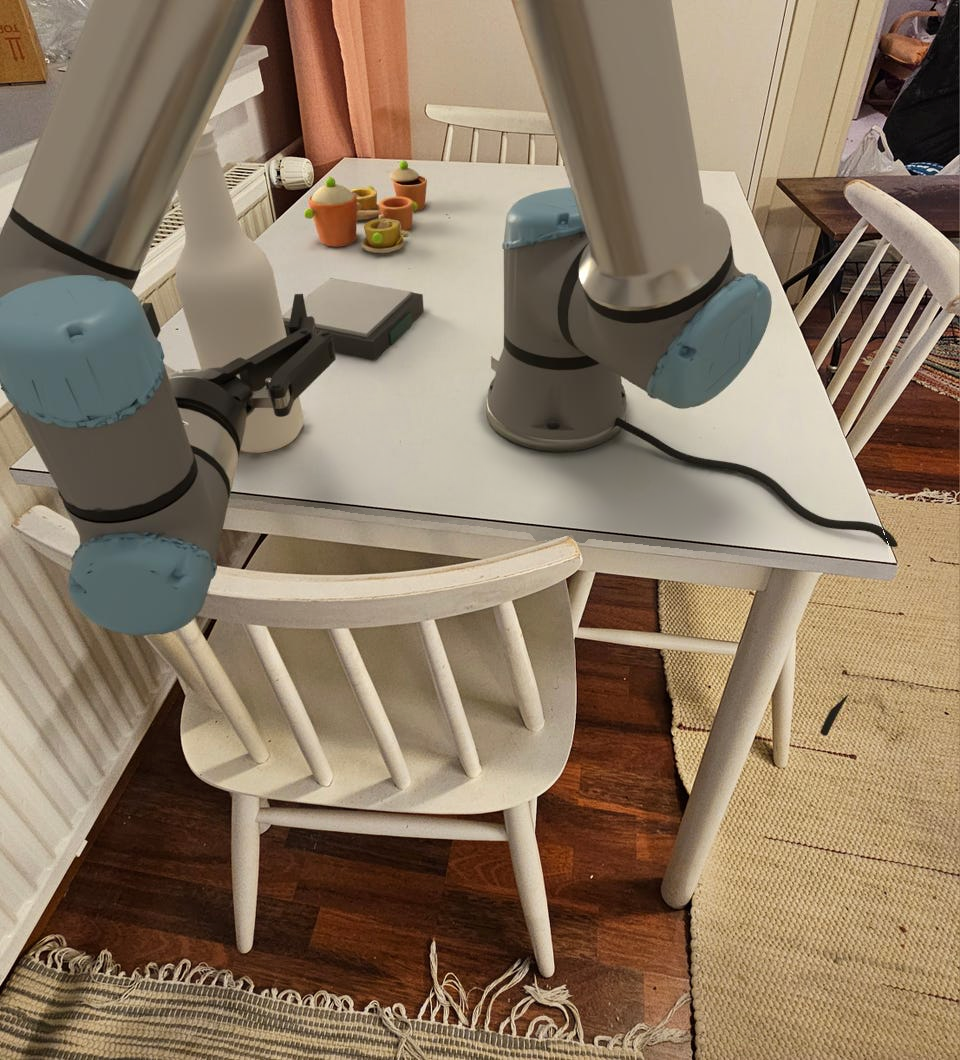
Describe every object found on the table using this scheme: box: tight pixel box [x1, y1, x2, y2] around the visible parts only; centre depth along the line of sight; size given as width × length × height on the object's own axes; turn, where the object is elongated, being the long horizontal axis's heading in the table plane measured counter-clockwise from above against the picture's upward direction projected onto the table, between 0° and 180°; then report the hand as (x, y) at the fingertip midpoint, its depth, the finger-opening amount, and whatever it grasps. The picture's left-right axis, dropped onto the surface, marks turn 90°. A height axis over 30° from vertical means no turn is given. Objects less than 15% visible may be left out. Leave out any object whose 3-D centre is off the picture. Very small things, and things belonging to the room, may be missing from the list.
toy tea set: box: [303, 159, 428, 254], centre depth 122 cm, size 26×16×10 cm, turn 168°
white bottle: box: [174, 122, 305, 454], centre depth 71 cm, size 9×9×30 cm
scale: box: [282, 277, 425, 361], centre depth 98 cm, size 14×14×3 cm
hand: (227, 311), depth 69 cm, fingers open, 13 cm apart
